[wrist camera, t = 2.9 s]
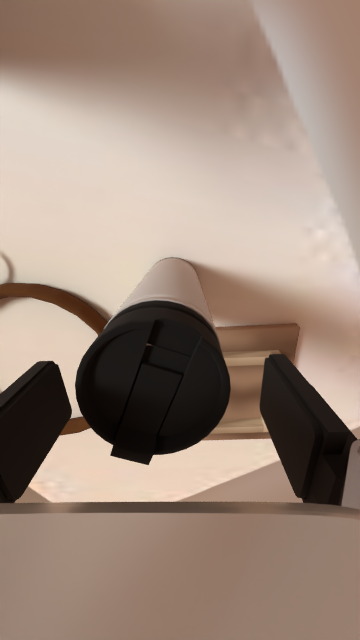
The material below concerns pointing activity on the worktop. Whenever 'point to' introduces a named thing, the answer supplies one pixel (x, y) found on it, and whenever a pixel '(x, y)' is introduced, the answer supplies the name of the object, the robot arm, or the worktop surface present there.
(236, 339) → the walnut coaster board
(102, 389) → the travel mug
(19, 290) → the decorative ring
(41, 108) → the worktop surface
